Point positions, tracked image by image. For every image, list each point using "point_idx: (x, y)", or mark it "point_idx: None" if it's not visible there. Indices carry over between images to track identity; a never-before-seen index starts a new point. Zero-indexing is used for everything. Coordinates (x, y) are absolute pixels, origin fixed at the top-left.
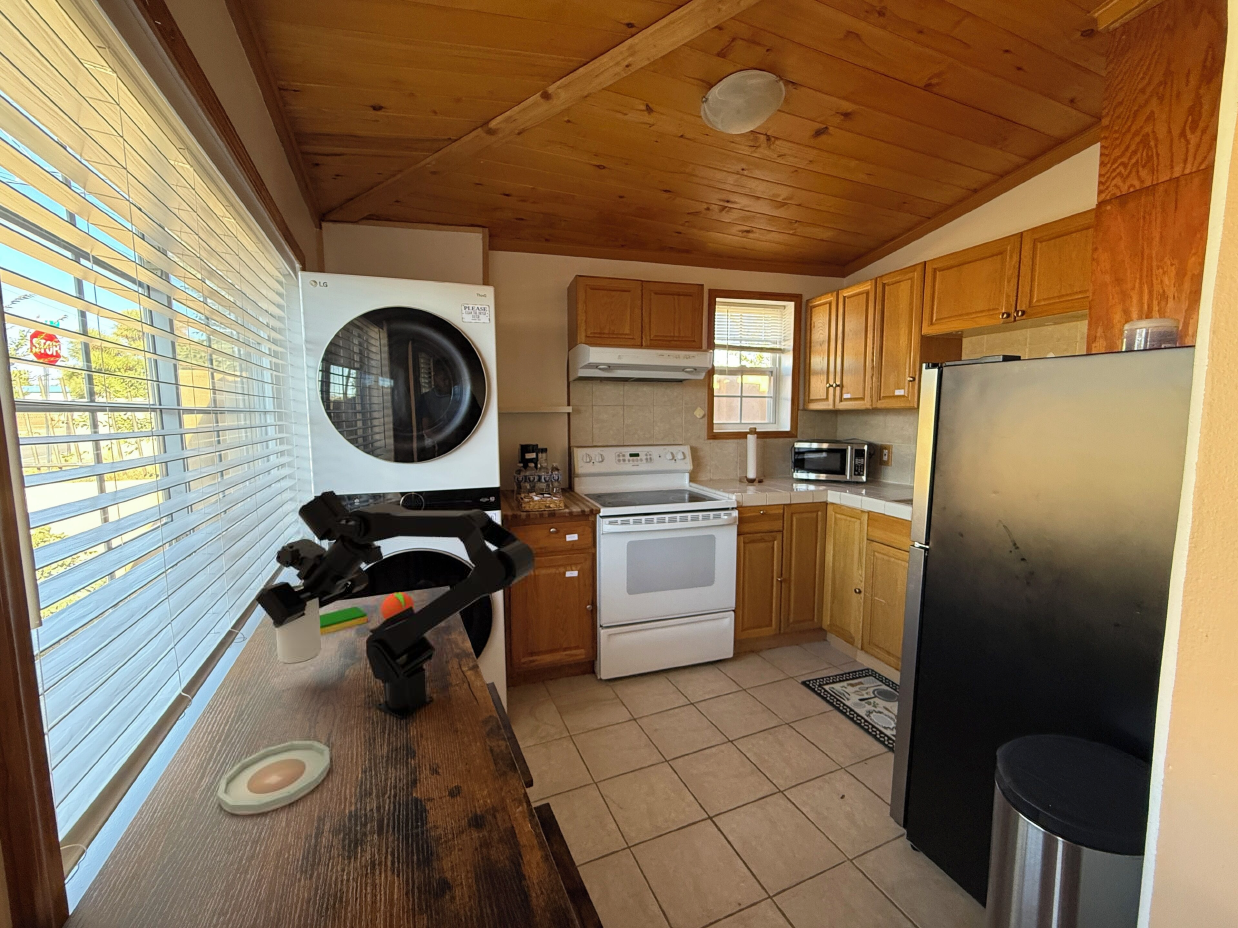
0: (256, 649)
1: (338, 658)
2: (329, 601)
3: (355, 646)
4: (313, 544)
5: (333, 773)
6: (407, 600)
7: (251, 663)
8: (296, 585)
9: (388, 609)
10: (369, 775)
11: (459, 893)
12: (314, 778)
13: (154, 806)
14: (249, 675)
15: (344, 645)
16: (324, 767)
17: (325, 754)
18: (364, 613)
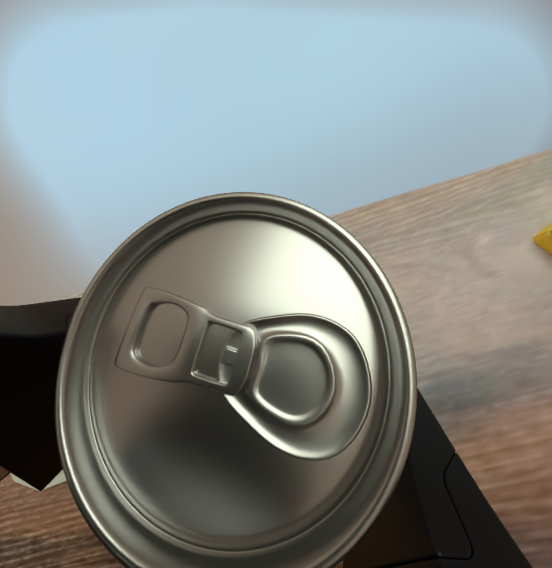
0: (470, 178)
1: (425, 373)
2: (350, 555)
3: (502, 396)
4: None
5: (48, 489)
6: None
7: (403, 205)
8: (381, 279)
9: None
10: (24, 551)
11: None
12: (14, 478)
13: (74, 294)
14: (353, 228)
15: (506, 363)
16: (30, 486)
17: (57, 478)
18: None
